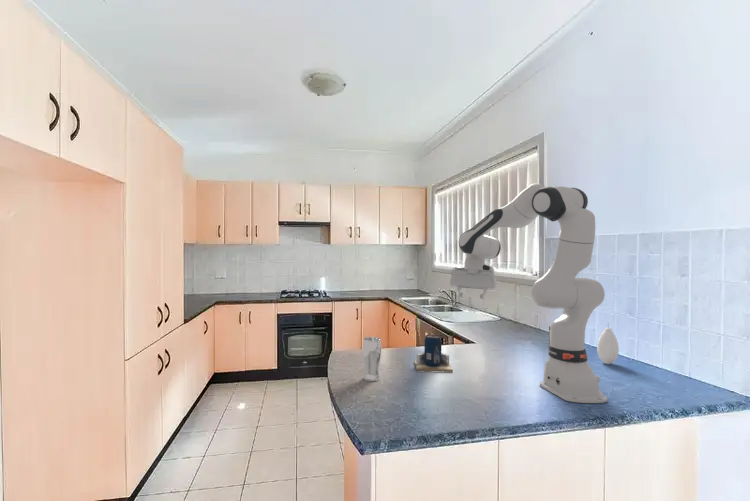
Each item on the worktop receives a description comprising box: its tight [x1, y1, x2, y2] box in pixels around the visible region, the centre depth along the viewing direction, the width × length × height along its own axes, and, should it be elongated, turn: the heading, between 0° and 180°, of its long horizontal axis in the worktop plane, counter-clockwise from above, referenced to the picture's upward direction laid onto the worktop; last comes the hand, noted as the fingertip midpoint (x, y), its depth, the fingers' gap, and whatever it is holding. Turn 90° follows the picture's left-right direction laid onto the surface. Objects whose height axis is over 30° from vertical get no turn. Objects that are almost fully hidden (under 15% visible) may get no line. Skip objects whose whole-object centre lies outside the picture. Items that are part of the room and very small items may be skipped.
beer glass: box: [362, 336, 382, 382], centre depth 145 cm, size 7×7×15 cm
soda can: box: [423, 334, 442, 367], centre depth 159 cm, size 7×7×12 cm
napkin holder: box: [414, 351, 454, 373], centre depth 160 cm, size 13×14×5 cm
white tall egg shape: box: [596, 322, 620, 365], centre depth 168 cm, size 8×8×18 cm
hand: (471, 297), depth 172 cm, fingers open, 8 cm apart
